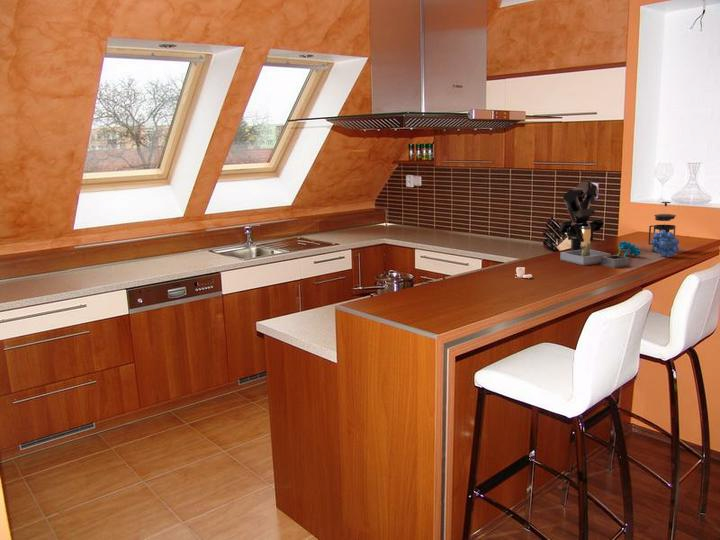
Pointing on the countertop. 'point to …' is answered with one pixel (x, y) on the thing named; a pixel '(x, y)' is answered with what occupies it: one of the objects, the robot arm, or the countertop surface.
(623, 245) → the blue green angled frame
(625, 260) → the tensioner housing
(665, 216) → the french press
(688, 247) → the countertop surface
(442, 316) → the countertop surface
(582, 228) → the capped labeled canister
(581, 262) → the tray
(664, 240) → the grapes
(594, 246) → the countertop surface
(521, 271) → the teacup and saucer
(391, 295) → the countertop surface
